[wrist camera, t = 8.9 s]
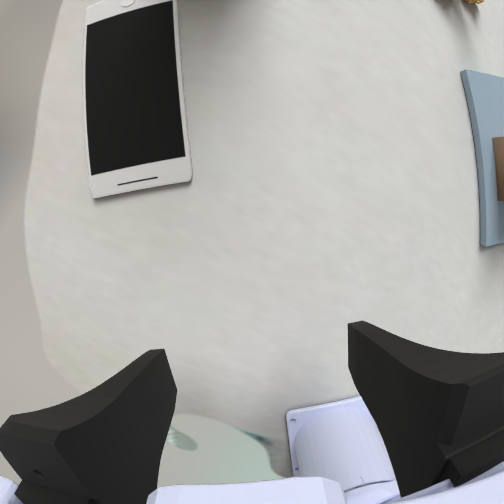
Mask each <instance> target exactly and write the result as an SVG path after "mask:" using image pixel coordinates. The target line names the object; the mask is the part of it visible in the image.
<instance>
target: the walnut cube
mask: <svg viewBox="0 0 504 504" xmlns="http://www.w3.org/2000/svg"><path fill="white" fill-rule="evenodd" d="M492 142H493V149H494V158H495V168H496V181H497V201H503V202H504V137H494V138H492Z"/></svg>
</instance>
